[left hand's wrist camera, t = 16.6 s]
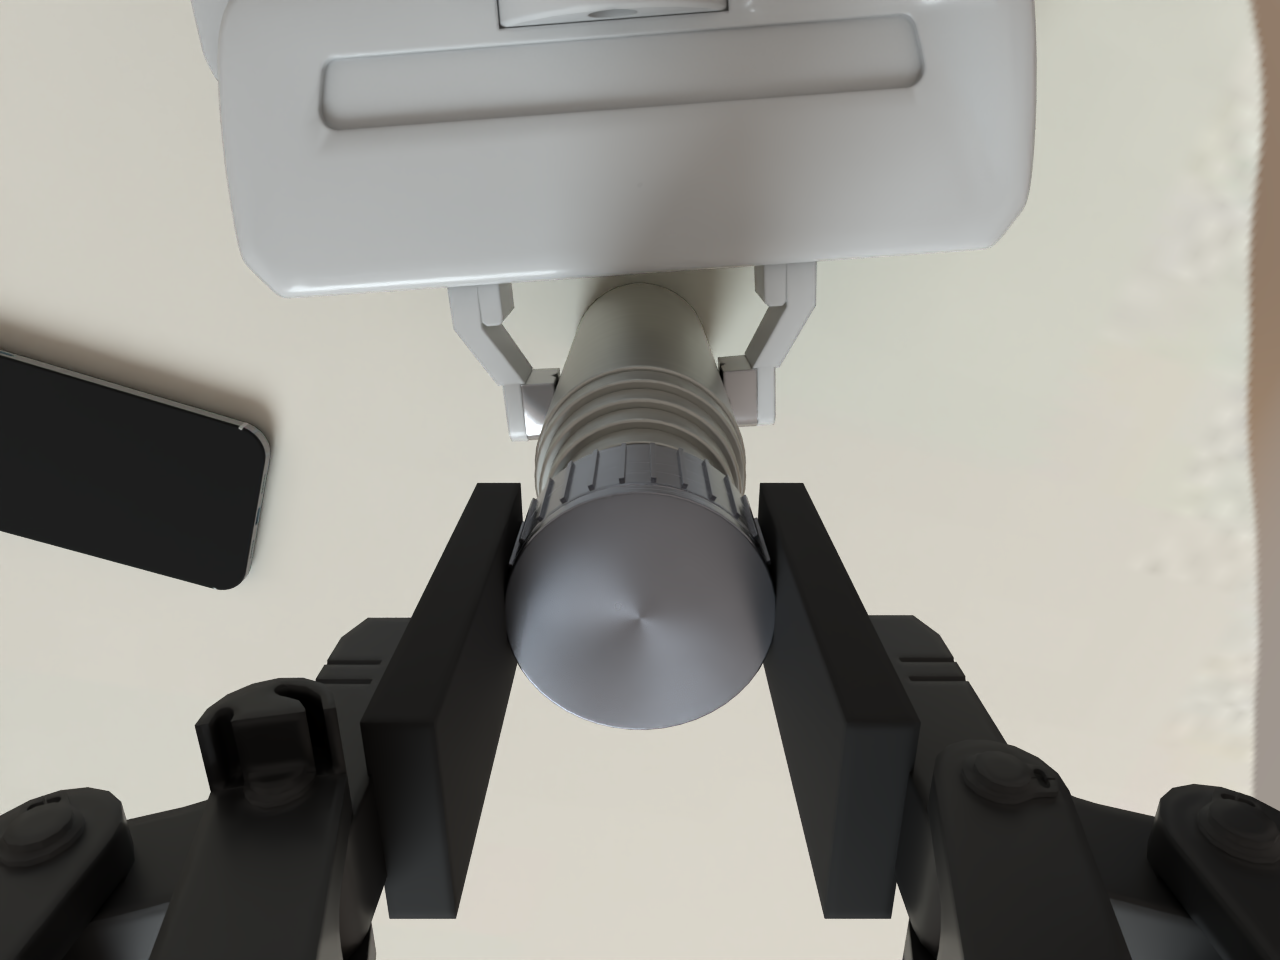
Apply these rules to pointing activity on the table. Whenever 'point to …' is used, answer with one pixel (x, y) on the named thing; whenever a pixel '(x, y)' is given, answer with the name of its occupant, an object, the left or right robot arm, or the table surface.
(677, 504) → the cap
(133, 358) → the table surface
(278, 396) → the table surface
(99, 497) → the smartphone
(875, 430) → the table surface
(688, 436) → the bottle
